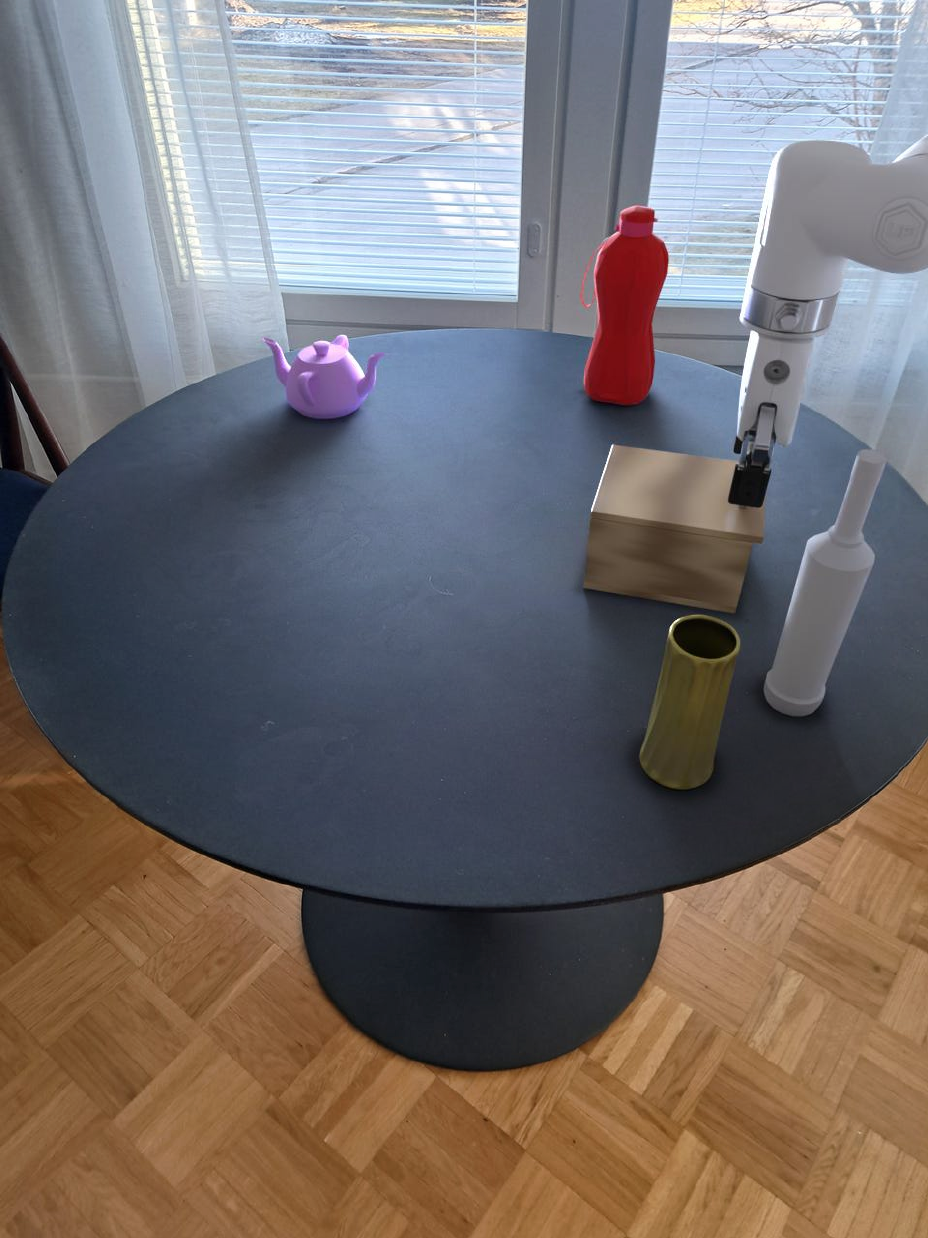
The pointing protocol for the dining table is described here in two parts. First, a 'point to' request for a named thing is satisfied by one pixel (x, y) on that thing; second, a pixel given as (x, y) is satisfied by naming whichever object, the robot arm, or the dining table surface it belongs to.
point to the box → (666, 565)
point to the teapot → (324, 378)
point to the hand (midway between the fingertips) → (746, 478)
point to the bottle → (825, 597)
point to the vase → (690, 702)
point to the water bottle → (626, 309)
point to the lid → (675, 494)
